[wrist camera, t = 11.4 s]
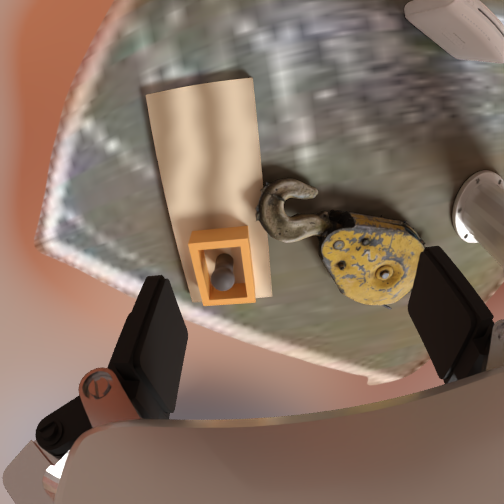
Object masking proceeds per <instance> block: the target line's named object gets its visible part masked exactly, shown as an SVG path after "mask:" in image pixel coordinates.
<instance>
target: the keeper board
mask: <svg viewBox="0 0 504 504" xmlns="http://www.w3.org/2000/svg"><path fill="white" fill-rule="evenodd" d="M146 100H147V106H148V112H149V118H150V123H151V129H152V134H153V140H154V145H155V150H156V155H157V160H158V165H159V170H160V175H161V179H162V184H163V188H164V193H165V197H166V202H167V206H168V210H169V215H170V219H171V223H172V227H173V231H174V235H175V239H176V243H177V247H178V251H179V255H180V259H181V262H182V266H183V270H184V273H185V277H186V281H187V284H188V288H189V291H190V295H191V298H192V302H202V298H201V295H200V291H199V287H198V283H197V279H196V275H195V271H194V267H193V263H192V259H191V254H190V250H189V246H188V242H189V239H190V236H191V233H192V231H198V230H208V229H218V228H228V227H239V226H248V230H249V239H250V247H251V256H252V265H253V273H254V282H255V298H261V297H272V287H271V274H270V261H269V249H268V236H267V232H266V231H265V230H264V228H263V227H262V225H261V223H260V222H259V221H256V216H255V214H256V209H255V208H256V206H257V205H258V203H259V199H260V196H261V191H260V190H261V189H263V179H262V168H261V157H260V146H259V136H258V126H257V116H256V106H255V96H254V86H253V78H244V79H235V80H226V81H218V82H211V83H204V84H198V85H192V86H186V87H181V88H176V89H171V90H166V91H161V92H156V93H152V94H147V95H146ZM255 221H256V222H255ZM204 254H205V258H206V263H207V268H208V272H209V277H210V281H211V285H213V287H214V288H215V289H217V290H219V291H227V290H229V289H230V288H231V287H232V286H233V285H234V284H237V283H245V276H244V269H243V261H242V254H241V247H240V246H239V247H228V248H217V249H206V250H204Z"/></svg>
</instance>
